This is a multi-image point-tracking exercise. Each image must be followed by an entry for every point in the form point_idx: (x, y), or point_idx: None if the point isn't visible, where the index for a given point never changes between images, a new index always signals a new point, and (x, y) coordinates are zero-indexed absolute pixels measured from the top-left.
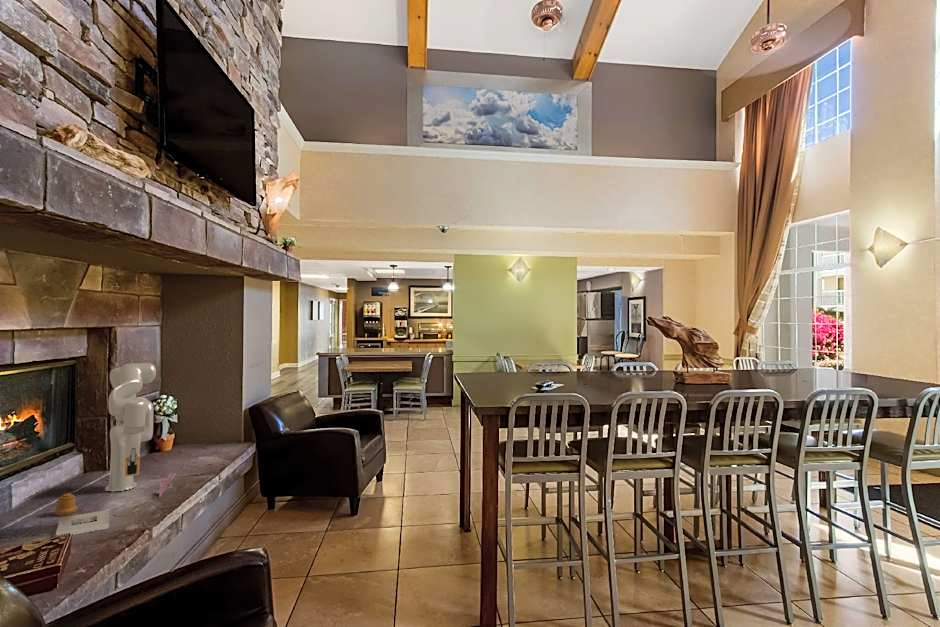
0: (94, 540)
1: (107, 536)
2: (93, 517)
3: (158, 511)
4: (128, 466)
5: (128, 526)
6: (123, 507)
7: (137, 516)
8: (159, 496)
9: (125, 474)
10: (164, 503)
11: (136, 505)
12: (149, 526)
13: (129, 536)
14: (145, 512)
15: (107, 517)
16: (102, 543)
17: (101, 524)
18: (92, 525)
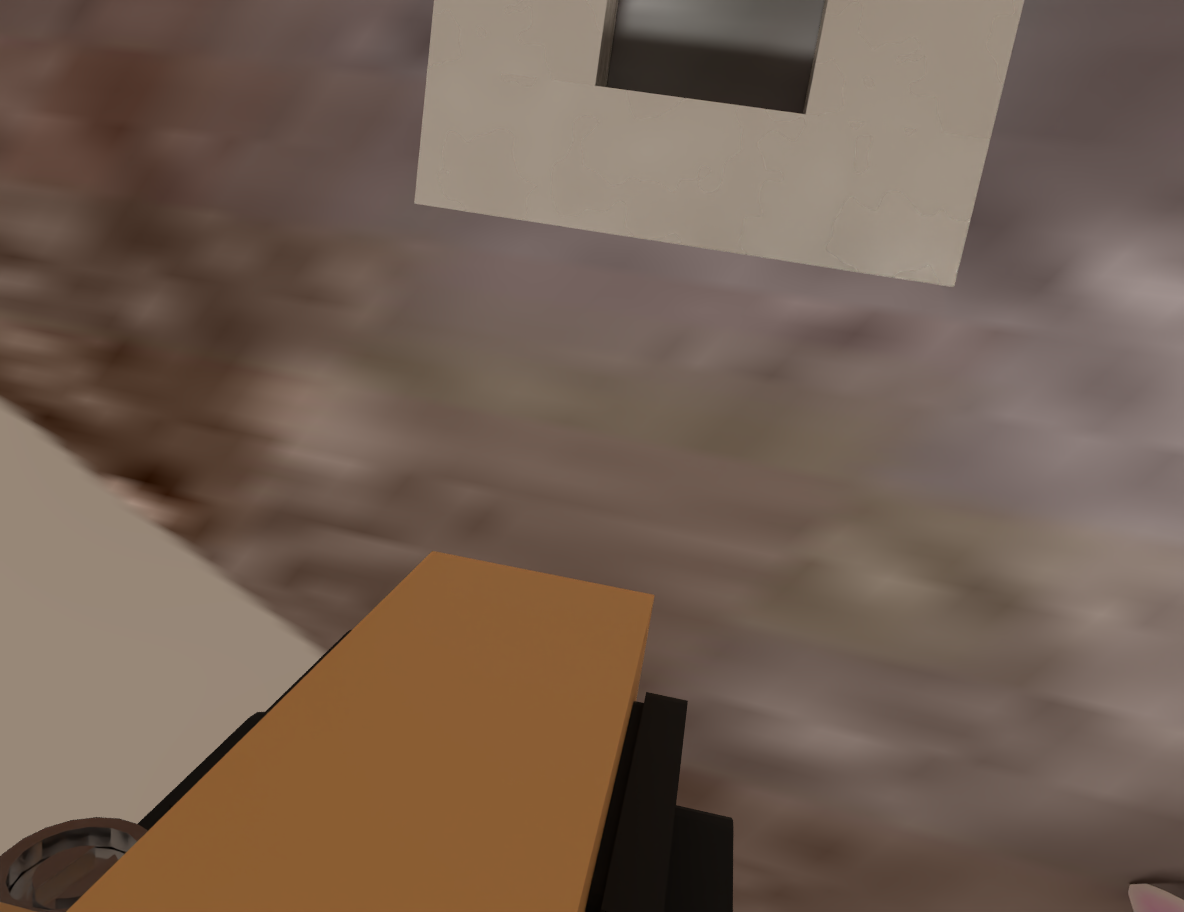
0: (168, 34)
1: (204, 164)
2: (814, 70)
3: None
4: None
5: (363, 389)
6: (1087, 470)
7: (616, 528)
8: (1160, 894)
9: (413, 592)
10: (855, 856)
11: (1039, 608)
12: (237, 551)
13: (85, 344)
14: (691, 624)
15: (640, 217)
16: (46, 97)
17: (428, 122)
18: (459, 22)
